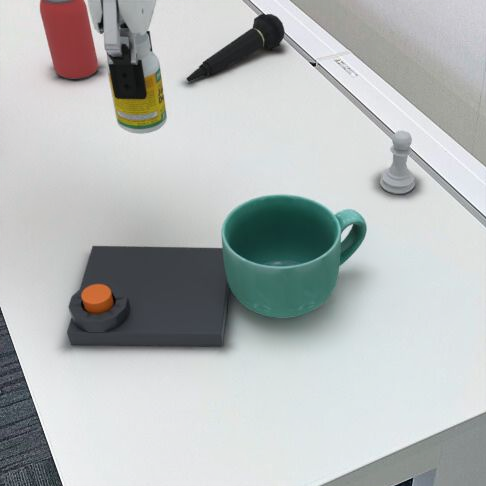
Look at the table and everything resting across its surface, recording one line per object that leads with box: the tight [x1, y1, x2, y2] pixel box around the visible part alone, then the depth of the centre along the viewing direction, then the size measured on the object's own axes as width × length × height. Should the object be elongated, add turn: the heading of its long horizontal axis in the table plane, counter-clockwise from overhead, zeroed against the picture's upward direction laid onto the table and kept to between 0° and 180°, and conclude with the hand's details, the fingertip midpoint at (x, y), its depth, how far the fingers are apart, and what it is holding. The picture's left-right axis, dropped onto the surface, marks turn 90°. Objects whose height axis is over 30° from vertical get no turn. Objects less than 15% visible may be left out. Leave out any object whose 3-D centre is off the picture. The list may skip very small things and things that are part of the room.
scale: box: [66, 245, 230, 347], centre depth 85 cm, size 16×14×4 cm
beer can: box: [39, 0, 99, 80], centre depth 115 cm, size 7×7×12 cm
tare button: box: [81, 284, 114, 314], centre depth 81 cm, size 3×3×2 cm
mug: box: [221, 193, 368, 319], centre depth 85 cm, size 17×13×10 cm
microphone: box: [186, 13, 286, 83], centre depth 123 cm, size 6×6×20 cm
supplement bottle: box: [105, 28, 168, 135], centre depth 81 cm, size 5×5×10 cm
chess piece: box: [379, 130, 416, 195], centre depth 101 cm, size 5×5×8 cm
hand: (135, 80), depth 81 cm, fingers closed on supplement bottle, 5 cm apart
